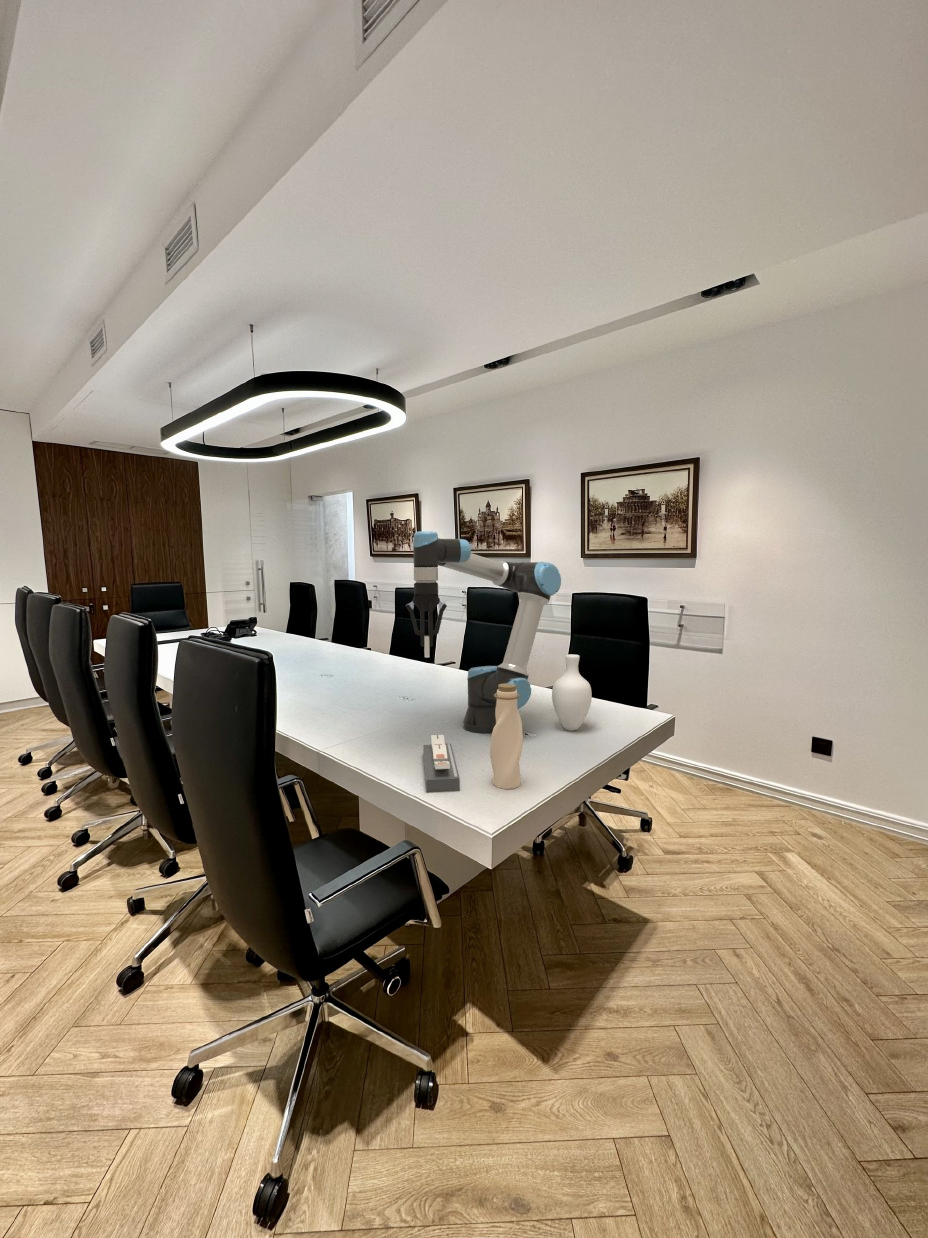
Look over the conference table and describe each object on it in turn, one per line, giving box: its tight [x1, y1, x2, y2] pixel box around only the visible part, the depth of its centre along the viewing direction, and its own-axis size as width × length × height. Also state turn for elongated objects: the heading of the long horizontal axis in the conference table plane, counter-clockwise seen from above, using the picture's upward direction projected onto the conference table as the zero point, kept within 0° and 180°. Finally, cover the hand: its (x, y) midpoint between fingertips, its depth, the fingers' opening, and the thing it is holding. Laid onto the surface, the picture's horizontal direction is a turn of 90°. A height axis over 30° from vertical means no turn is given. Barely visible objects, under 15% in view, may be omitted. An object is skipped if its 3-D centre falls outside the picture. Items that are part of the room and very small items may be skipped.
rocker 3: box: [434, 761, 450, 769], centre depth 146 cm, size 4×7×2 cm, turn 6°
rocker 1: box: [430, 734, 446, 752], centre depth 164 cm, size 4×7×2 cm, turn 6°
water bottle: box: [489, 683, 524, 790], centre depth 146 cm, size 10×9×28 cm
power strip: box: [422, 743, 461, 793], centre depth 159 cm, size 9×37×4 cm, turn 6°
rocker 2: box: [433, 745, 448, 762], centre depth 155 cm, size 4×7×2 cm, turn 6°
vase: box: [551, 653, 593, 732], centre depth 193 cm, size 14×14×28 cm
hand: (426, 656), depth 164 cm, fingers closed
